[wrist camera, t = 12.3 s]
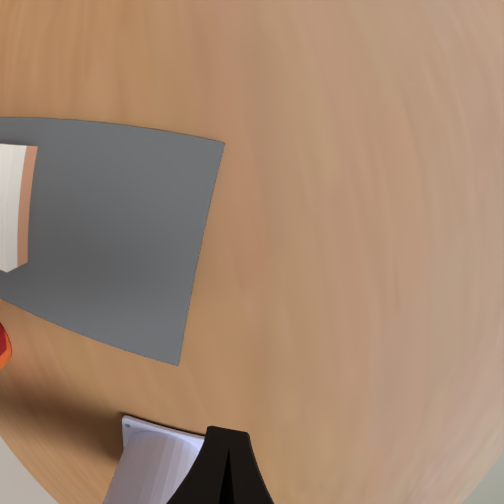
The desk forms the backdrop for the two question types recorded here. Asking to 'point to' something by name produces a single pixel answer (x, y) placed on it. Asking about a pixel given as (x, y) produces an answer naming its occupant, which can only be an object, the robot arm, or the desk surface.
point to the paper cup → (4, 347)
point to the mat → (113, 230)
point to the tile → (15, 202)
